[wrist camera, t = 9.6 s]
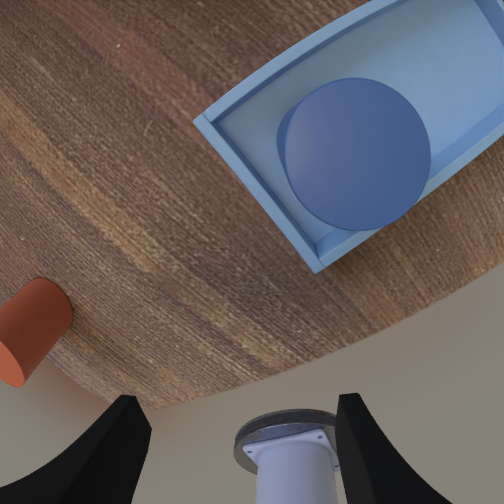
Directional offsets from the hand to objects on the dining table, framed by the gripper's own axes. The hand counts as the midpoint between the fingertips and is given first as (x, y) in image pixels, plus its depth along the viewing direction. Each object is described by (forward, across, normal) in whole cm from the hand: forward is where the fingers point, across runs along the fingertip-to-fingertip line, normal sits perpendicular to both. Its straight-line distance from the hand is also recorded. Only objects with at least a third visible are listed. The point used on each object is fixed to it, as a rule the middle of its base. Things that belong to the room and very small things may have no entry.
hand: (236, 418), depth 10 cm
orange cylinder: (+9, +16, +1) cm, 18 cm away
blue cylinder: (+9, -4, -8) cm, 13 cm away
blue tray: (+9, -9, -11) cm, 17 cm away
